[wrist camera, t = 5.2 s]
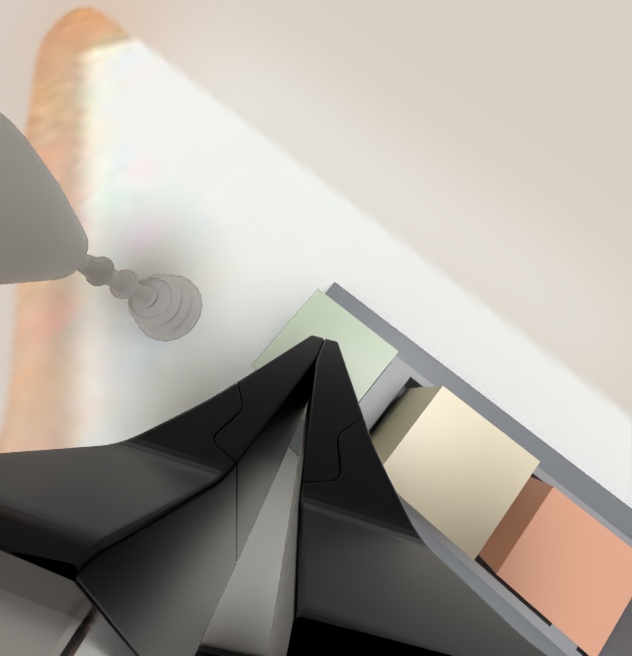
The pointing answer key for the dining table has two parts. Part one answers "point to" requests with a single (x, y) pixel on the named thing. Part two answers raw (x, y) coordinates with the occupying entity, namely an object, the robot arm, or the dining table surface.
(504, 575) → the peach rectangular block
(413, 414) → the block
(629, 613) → the key blue
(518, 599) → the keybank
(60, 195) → the chalice
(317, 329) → the key sage
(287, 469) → the dining table surface
